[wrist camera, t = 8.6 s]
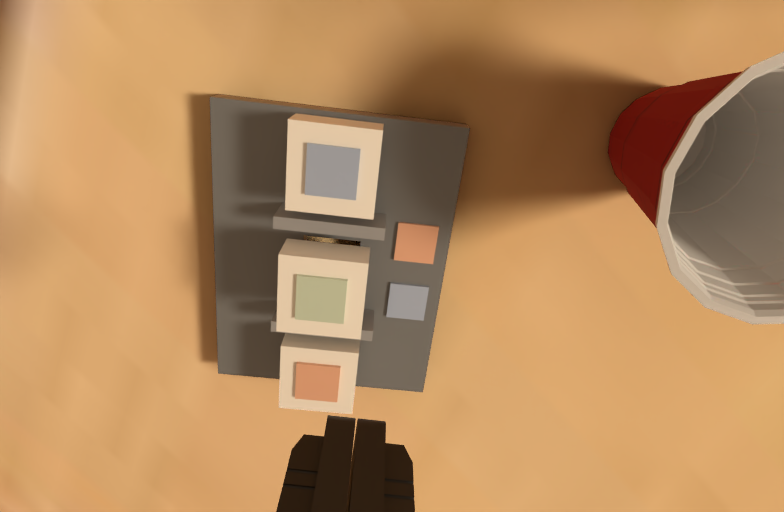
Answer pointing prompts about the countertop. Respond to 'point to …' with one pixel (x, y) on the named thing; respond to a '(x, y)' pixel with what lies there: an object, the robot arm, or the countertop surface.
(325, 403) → the key
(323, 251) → the key
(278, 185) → the keypad board
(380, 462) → the robot arm
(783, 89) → the plastic cup
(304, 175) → the key
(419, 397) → the countertop surface
